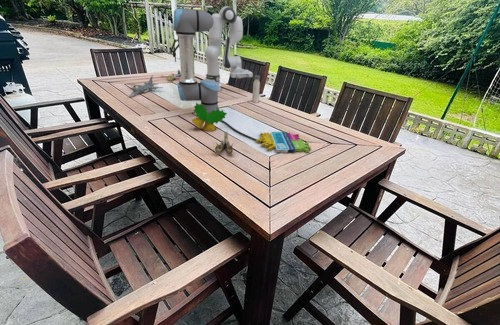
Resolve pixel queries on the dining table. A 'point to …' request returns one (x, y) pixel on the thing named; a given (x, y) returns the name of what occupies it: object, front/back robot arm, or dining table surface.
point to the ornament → (207, 117)
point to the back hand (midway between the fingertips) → (244, 76)
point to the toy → (173, 76)
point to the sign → (283, 142)
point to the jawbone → (224, 145)
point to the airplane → (143, 87)
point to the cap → (257, 77)
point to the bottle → (256, 91)
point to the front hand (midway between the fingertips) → (184, 61)
